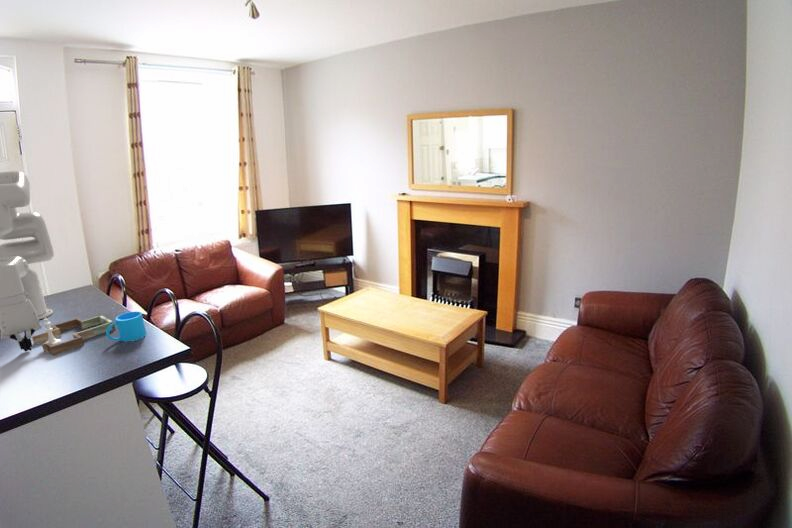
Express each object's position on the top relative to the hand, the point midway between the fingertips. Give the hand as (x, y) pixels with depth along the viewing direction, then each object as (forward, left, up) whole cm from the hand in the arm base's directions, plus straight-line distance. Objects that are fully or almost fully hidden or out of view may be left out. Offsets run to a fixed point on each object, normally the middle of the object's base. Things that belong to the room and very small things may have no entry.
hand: (27, 349), depth 150 cm
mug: (+19, +24, -1) cm, 31 cm away
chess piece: (0, +7, -1) cm, 7 cm away
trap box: (0, +13, -1) cm, 13 cm away
